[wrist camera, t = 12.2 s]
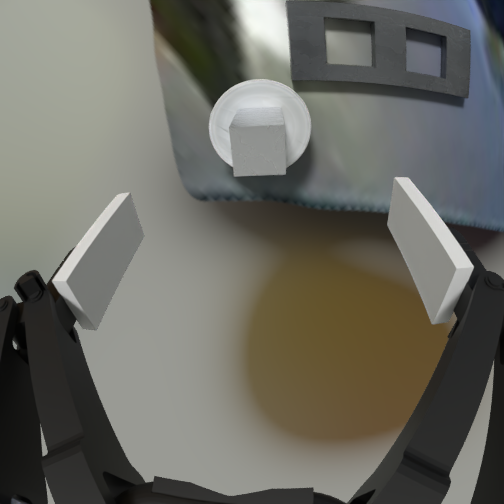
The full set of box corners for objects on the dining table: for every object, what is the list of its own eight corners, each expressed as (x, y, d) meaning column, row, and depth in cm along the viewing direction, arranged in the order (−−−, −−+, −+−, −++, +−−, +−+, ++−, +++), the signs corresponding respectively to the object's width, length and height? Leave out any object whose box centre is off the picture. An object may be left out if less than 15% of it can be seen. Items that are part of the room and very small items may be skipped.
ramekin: (216, 158, 39) (209, 174, 34) (215, 75, 32) (207, 79, 28) (302, 162, 38) (306, 178, 34) (309, 79, 31) (315, 83, 27)
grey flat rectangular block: (464, 29, 23) (470, 30, 22) (462, 96, 29) (468, 98, 28) (285, 2, 25) (286, 0, 24) (291, 79, 31) (292, 80, 30)
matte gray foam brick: (280, 106, 29) (284, 125, 23) (282, 145, 32) (285, 174, 26) (237, 108, 30) (228, 127, 23) (241, 147, 32) (233, 176, 26)
